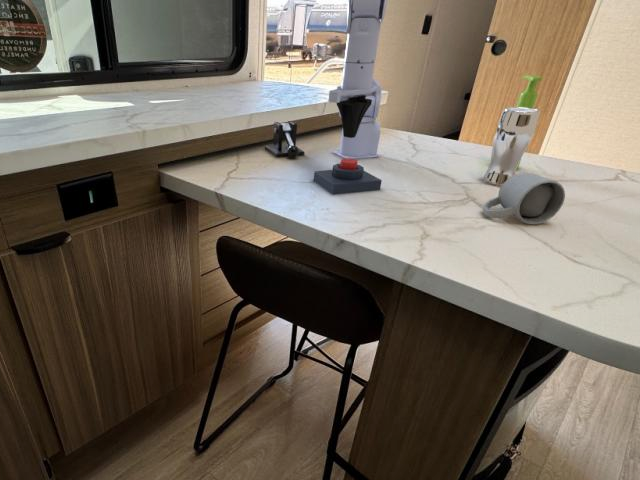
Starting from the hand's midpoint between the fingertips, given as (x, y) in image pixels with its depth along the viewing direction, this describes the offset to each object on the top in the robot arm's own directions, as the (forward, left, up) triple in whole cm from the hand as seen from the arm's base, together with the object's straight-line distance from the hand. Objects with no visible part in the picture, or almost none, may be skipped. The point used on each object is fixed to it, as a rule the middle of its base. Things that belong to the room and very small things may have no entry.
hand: (349, 136), depth 87 cm
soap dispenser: (-45, -2, -10) cm, 46 cm away
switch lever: (+3, -27, -7) cm, 28 cm away
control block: (0, +1, -10) cm, 10 cm away
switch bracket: (+3, -30, -10) cm, 32 cm away
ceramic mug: (-21, +26, -10) cm, 35 cm away
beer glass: (-34, +8, -10) cm, 36 cm away
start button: (0, +1, -6) cm, 6 cm away
